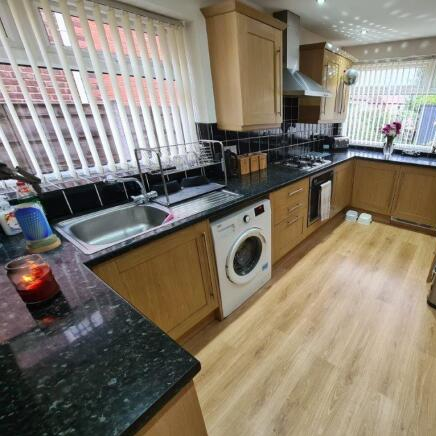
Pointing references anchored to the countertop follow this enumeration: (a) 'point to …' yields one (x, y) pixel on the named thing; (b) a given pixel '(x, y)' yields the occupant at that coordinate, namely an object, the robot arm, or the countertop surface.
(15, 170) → the robot arm
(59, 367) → the countertop surface
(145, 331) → the countertop surface
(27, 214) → the blue canister
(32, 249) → the green frosted donut
